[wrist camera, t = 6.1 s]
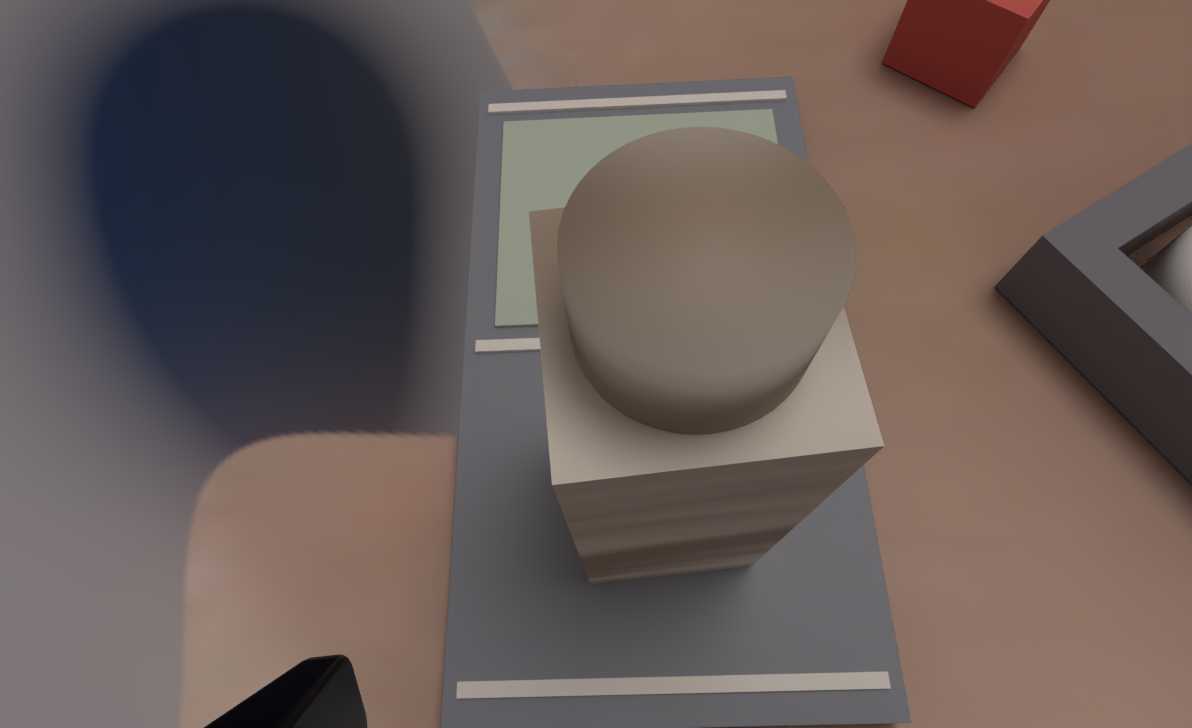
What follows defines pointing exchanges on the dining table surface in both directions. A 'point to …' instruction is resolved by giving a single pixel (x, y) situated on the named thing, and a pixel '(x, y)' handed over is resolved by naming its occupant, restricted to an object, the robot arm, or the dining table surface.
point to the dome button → (1174, 269)
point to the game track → (538, 527)
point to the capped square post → (697, 352)
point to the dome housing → (1119, 304)
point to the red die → (960, 42)
